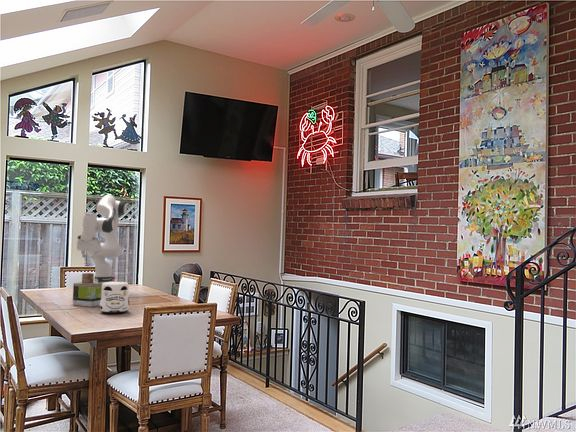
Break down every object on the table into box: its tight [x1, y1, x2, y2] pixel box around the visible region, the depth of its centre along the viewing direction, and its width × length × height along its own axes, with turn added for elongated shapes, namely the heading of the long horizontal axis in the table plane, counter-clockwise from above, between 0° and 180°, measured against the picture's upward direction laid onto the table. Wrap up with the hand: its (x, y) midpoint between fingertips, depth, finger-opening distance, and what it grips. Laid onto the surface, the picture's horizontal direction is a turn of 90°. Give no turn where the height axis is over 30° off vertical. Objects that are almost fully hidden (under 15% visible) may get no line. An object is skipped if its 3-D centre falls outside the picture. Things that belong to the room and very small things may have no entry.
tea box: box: [72, 281, 102, 308], centre depth 324 cm, size 15×10×15 cm, turn 71°
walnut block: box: [81, 272, 95, 283], centre depth 324 cm, size 5×5×6 cm
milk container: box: [99, 281, 130, 315], centre depth 302 cm, size 17×17×18 cm
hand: (88, 258), depth 324 cm, fingers open, 8 cm apart
